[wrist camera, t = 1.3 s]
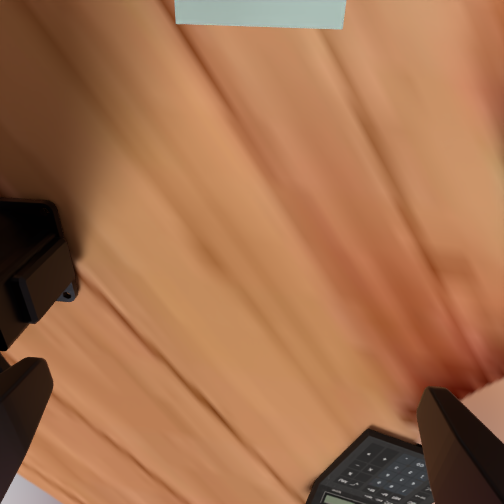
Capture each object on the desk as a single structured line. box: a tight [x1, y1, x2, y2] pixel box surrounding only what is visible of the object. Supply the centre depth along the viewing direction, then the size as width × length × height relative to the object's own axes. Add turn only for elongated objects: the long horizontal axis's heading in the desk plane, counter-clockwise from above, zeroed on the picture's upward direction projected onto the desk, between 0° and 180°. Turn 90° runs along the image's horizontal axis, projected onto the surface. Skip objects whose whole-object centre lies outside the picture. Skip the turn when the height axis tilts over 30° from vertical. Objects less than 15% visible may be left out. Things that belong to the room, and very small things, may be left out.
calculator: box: [306, 429, 435, 504], centre depth 31 cm, size 9×12×3 cm
